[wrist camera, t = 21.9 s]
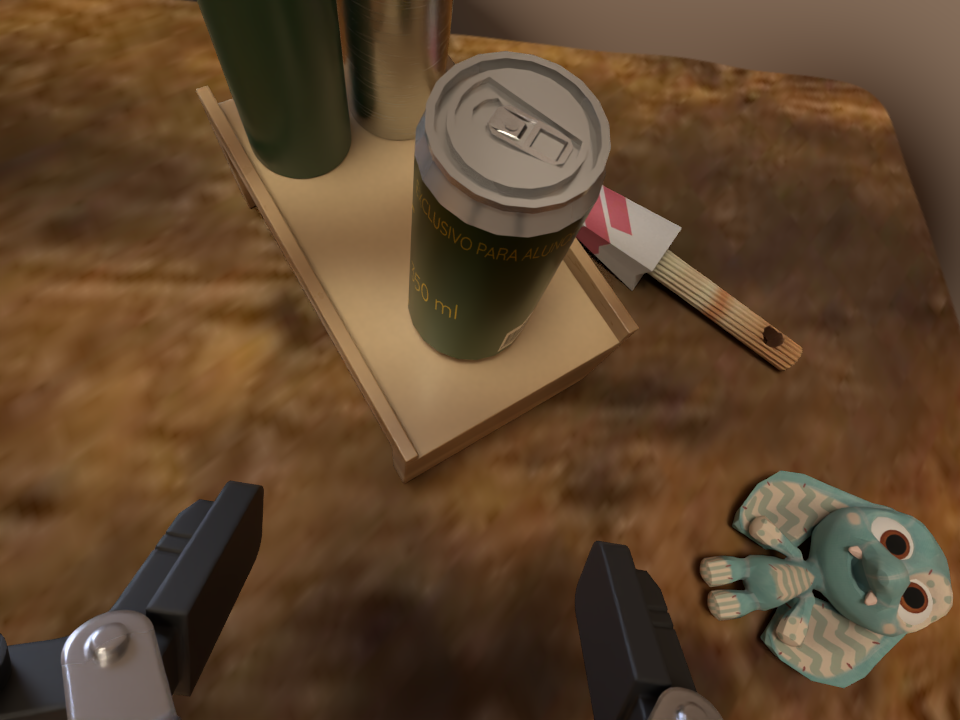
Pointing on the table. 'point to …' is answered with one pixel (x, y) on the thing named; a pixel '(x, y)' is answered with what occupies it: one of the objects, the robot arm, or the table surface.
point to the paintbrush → (673, 272)
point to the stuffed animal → (831, 577)
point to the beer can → (498, 196)
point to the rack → (381, 213)
